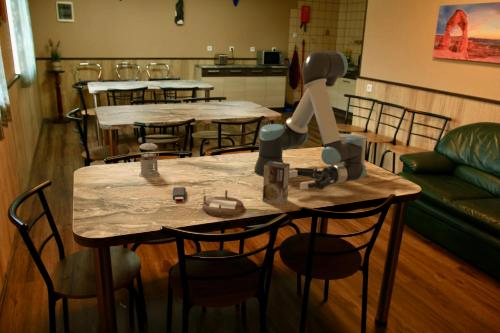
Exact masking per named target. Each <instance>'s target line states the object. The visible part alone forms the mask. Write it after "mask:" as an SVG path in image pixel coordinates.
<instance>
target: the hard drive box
mask: <svg viewBox="0 0 500 333" xmlns="http://www.w3.org/2000/svg"><path fill="white" fill-rule="evenodd" d="M339 135H340V138H341V142H342V144H344V143H345V141H346V138H347V137H350V136H356V137H360V138H362V139H363V152H362V161H361V162H362V163H363V164H364V165H365V157H366V148H367V142H368V141H367V137H366V136H365V134H358V133H356V134H354V133H353V134H352V133H339ZM343 164H344V162H340V163H338V164H333V165H330V166H335V165H343Z"/></svg>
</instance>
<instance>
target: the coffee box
mask: <svg viewBox="0 0 500 333" xmlns="http://www.w3.org/2000/svg"><path fill="white" fill-rule="evenodd" d="M289 171H290V163H287V162H283V163H281V162H275V161H269V162H267V163H266V164H265V165H264V176H263V186H262V187H263V189H262V202H266V203H269V204H276V205H280V206H283V205H285V203H286V202H288V194H289V182H290V181H289V180H290V178H289Z"/></svg>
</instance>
